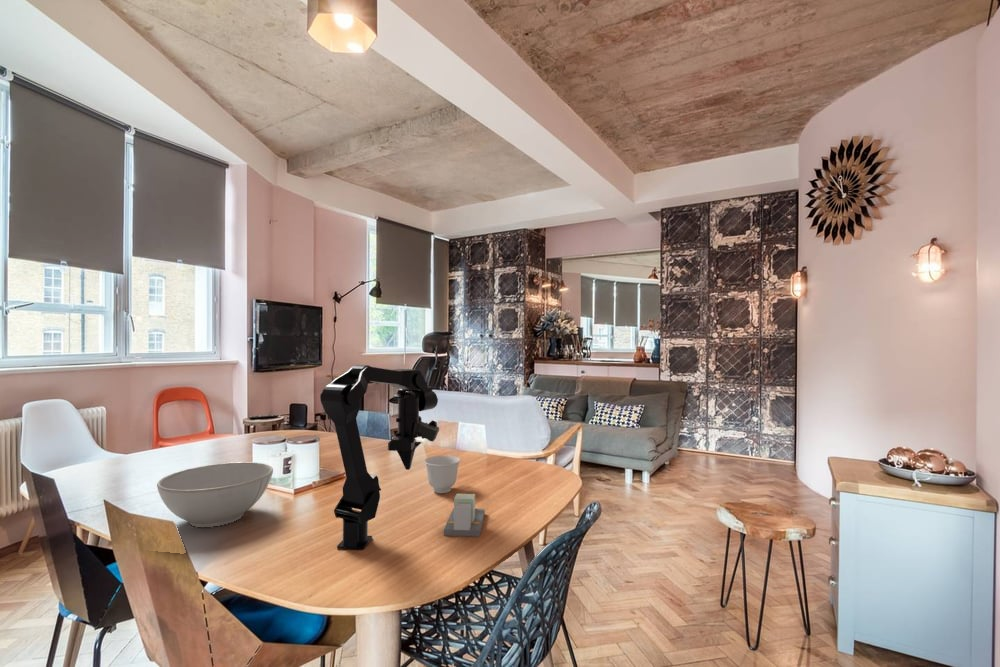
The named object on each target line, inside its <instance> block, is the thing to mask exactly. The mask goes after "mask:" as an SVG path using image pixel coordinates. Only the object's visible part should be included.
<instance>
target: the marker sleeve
mask: <svg viewBox="0 0 1000 667" xmlns="http://www.w3.org/2000/svg"><path fill="white" fill-rule="evenodd" d="M453 499H454V500H453V504H454V505H453V507H454V506H455V504H471V523H473V522H474V518H475V508H476V493H456V494H455V496H454V498H453Z"/></svg>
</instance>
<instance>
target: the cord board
mask: <svg viewBox="0 0 1000 667" xmlns="http://www.w3.org/2000/svg"><path fill="white" fill-rule="evenodd" d="M485 509H486V508H476V507H475V518H474V522H473V523H471V504H455V506H454V505H453V508H452V510H451V513H450V514H449V517H448V518H447V521H446V525H445V527H444V529H443V536H444V537H445V536H447V537H448V536H449V537H476V538H477V537H480V535H481V531H482V527H483V523H484V518H485V514H486V510H485Z"/></svg>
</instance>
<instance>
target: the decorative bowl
mask: <svg viewBox="0 0 1000 667" xmlns="http://www.w3.org/2000/svg"><path fill="white" fill-rule="evenodd" d="M273 474H274V468H273V467H272V466H271V465H269V464H267V463H263V462H253V461H234V462H223V463H214V464H213V463H212V464H207V465H202V466H195V467H192V468H187V469H183V470H179V471H177V472H173V473H171V474H168V475H166V476H164V477H162V478H160V479H159V480H158V481H157V483H156V488H157V491H158V494H159V496H160V498H161V500H162V502H163V504H164V505H165V506H166V507H167V509H168V510H169V511H170V512H171V513H172V514H173V515H175V516H176V517H178V518H180V519H181V520H184V521H187V522H189V524H191V525H192V526H191V525H190V526H191V527H193V526H196V527H195V528H197V527H211V528H214V527H213V526H218V527H221V526H220V525H222V526H225V525H224V524H226V525H229V524H228V523H230V524H232V523H235V522H237V521H239V520H240V519H241V517H242V516H244V514H245V512H247V511H248V510H250V509H251V508H252V507H254V505H255V504H256V503H257V502H258V501H259V500H260V499H261V497H262V496H263V495H264V493H265V491H266V490H267V488H268V487H269V484H270V482H271V479H272V476H273ZM242 518H243V517H242ZM238 519H239V520H238ZM236 520H237V521H236ZM234 521H235V522H234ZM231 522H232V523H231Z"/></svg>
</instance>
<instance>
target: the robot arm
mask: <svg viewBox="0 0 1000 667" xmlns="http://www.w3.org/2000/svg"><path fill="white" fill-rule="evenodd" d="M371 382H372V383H379V384H388V385H391V386H392V387H393V388H396V389H398V391H397V392H396V393H395V394H394V395H393V396H392V398H393V399H397V400H398V401H397V402H398V407H397V409H398V410H397V411H398V412H397V418H396V419H395V422H396V423H397V432H396V433H395V436H394V437H393V438H392V439H391V440H390V441H389V442H387V451H389V452H390V451H391V452H397V454H398V456H399V459H400V461H401V462H402V464H403V467H404V469H405V470H408V471H409V470H411V468H412V467H411V466H412V463H413V460H414V455H415V451H416V448H418V447H419V446H420V445H421V444H422V442H421V441H417V439H416V438H420V437H421V439H422V440H423V439H426V440H428V441H430V442H434V441H436V439H437V436H438V434H439V432H440V427H439V426H438V422H437V421H435V420H433V419H432V420H431V421H430V422H424V421H422V417H421V415H420V412H424V411H429V410H433V409H434V408H435V407H437V405H438V401H439V398H438V396H437V393H436V392H434V390H433V387H432V386H428V384H427V382H426V379H425V378H424V375H423V374H422V371H421V370H419V369H412V368H411V369H409V368H398V369H387V368H380V367H374V366H370V365H367V364H355V365H353V366H351V367H350V368H349V369H348V370H347V371H346V372H345V373H343V374H341V375H339V376H338V377H336V378H334V379H333V380H332V381H331V382H330V383H329V384H327V385H326V386H324V387H323V389H322V392H321V393H320V395H319V396H320V404H321V405H322V408H323V410H324V412H325V414H326V415H327V417H328V418H329V419H330V420H331V421H332V423H333V424H334V429H335V434H336V436H337V442H338V446H339V450H340V455H341V458H342V463H343V468H344V472H345V481H344V483H343V486H342V496H341V498H340V499H339V501H338V503H337V504H336V506H335V508H334V510H333V512H334V515H335V518H337V519H342V540H341V541H340V542H339V543H338V544H337V545H336V549H337V550H338V549H341V550H342V549H344V550H364V549H365V548H366V547H367V546H368V544H369V543H370V542H371V541H372V539H373V535H368V533H369V532H368V530H369V529H368V527H369V523H368V522H369V521H370V520H374V519H375V518H376V515H377V513H378V512H377V511H378V507H379V503H380V499H381V494H380V493H381V492H382V488H381V486H380V481H379V480H380V479H379V477H378V475H375V474H371V473H369V471H368V468H367V465H366V464H367V463H366V459H365V455H364V449H363V445H362V440H361V435H360V431H359V430H360V429H359V425H358V421H357V417H358V414H359V411H360V409H361V401H360V400H361V398H363V396H364V395H365V394H366V393H367V389H368V387H369V384H370V383H371ZM380 491H381V492H380Z"/></svg>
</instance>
